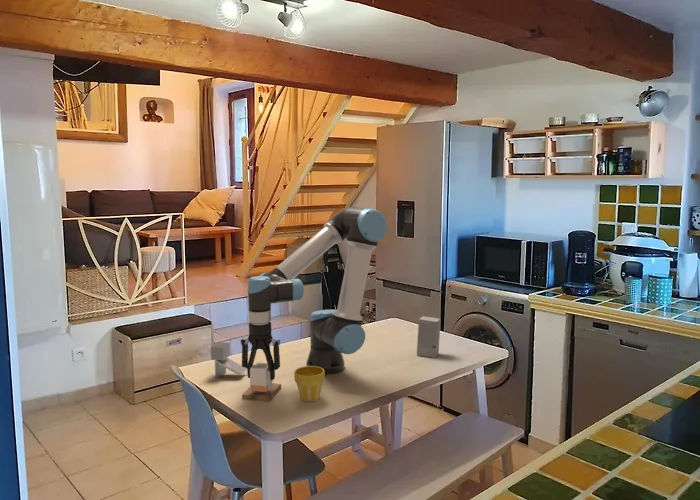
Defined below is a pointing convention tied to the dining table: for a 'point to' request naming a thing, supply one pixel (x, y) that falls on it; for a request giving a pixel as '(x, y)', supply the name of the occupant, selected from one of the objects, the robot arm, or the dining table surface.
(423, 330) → the skincare box
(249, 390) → the pin board
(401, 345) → the dining table surface
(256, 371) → the sleeve
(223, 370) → the chute
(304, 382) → the plant pot
